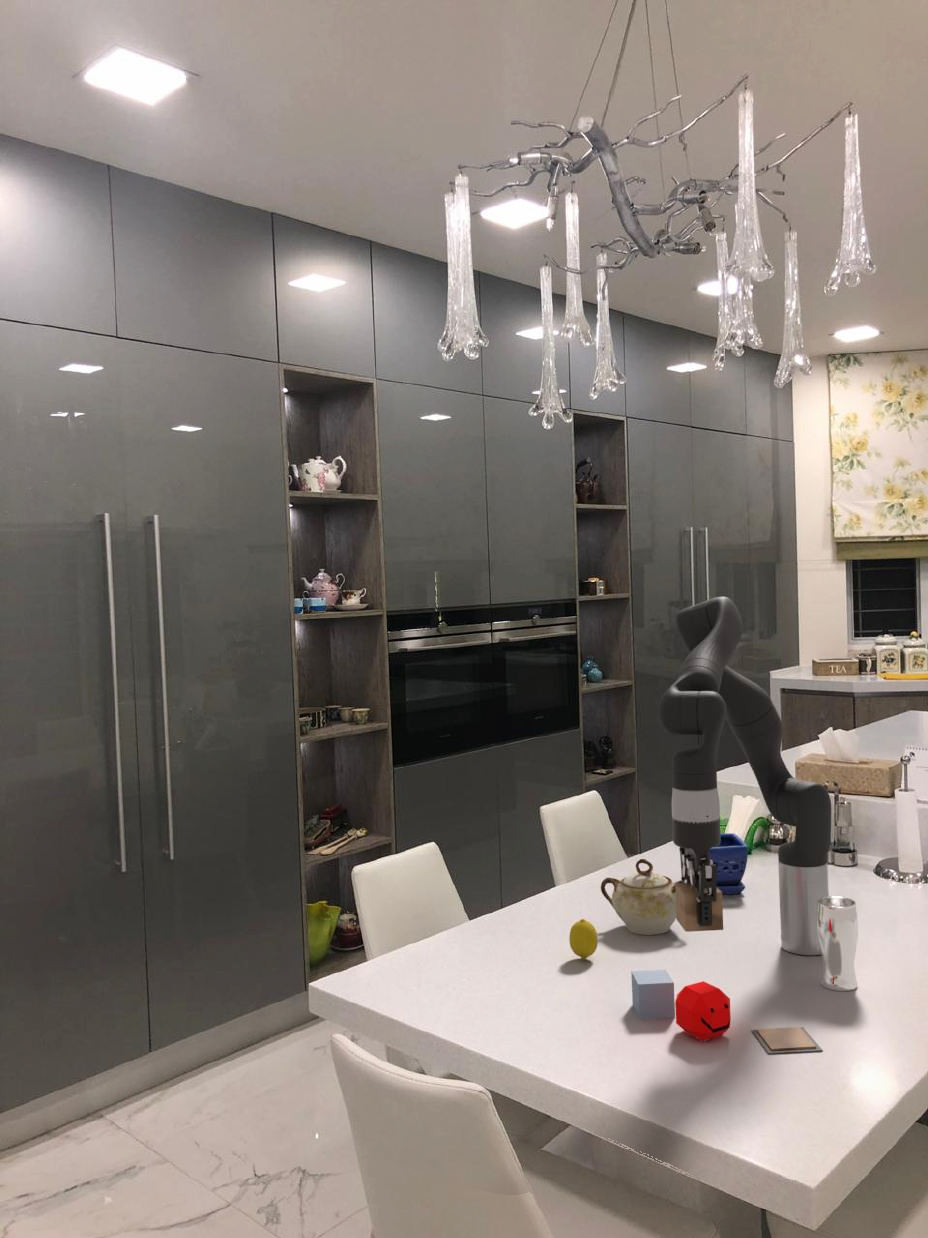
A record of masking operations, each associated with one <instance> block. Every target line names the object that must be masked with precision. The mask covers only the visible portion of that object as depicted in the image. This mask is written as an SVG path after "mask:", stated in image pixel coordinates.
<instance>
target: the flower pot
mask: <svg viewBox="0 0 928 1238" xmlns="http://www.w3.org/2000/svg"><path fill="white" fill-rule="evenodd" d="M720 834H721V843H720V844H719V845H718V846H717V847H712V848H711V849H709V856H710V858H712V861H713V865H716V867H717V875H716V886H717V888H718V889H719V890H720V891H721V892H722V895H736V894H741V893H742V892H743V891H744V890H745V888H746V885H745V884H744V883H743V881H742V879H743V877H744V875H745V872H746V869H747V863H748V855H749V847H748V845H747V844H746V843H745V841H744V840H743V839H741V837H740V836H739V835H737V834H736V833H731V832H729V833H721V832H720Z"/></svg>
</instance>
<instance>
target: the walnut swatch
mask: <svg viewBox="0 0 928 1238" xmlns="http://www.w3.org/2000/svg"><path fill="white" fill-rule="evenodd" d="M750 1031H751V1032H752V1034H753V1035H754V1036H755V1038H756V1039H757V1040H758V1042H759V1043H760V1045H761V1046H762V1048H763V1049H764V1050H765V1051H766V1053H767V1054H768V1055H779V1054H781V1055H782V1054H797V1053H798V1054H799V1053H814V1052H815V1053H817V1052H818V1053H819V1052H823V1051H824V1050H823V1049H822V1048H821V1046H820V1045H819V1043H817V1041H816V1040H814V1038H813V1037H812V1035H810V1033H809V1032H808V1031H807V1030H806V1028H804V1026H798V1027H797V1026H796V1027H781V1028H779V1027H778V1028H760V1029H751V1030H750Z"/></svg>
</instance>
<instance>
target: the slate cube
mask: <svg viewBox="0 0 928 1238" xmlns="http://www.w3.org/2000/svg"><path fill="white" fill-rule="evenodd" d="M630 973H631V991H632V992H631V995H632V1007H633V1009H634V1010H635V1013H636V1015H637V1017H638V1019H639V1020H652V1019H653V1020H654V1019H672V1018H675V1019H676V1006H675V983H674V980H673V979H672V977H671V976H670V974H669V973H668V971H667V969H651V970H650V969H649V970H648V969H647V970H632V971H631V972H630Z"/></svg>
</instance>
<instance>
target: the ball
mask: <svg viewBox="0 0 928 1238" xmlns="http://www.w3.org/2000/svg"><path fill="white" fill-rule="evenodd" d="M674 1002H675V1023H676V1024H677V1025H678V1027H680V1028H681V1029H682V1030H683V1031H684V1032H685V1033H686V1034H689V1036H692V1037H694V1038H695V1039H697V1040H698V1041H701V1042H702V1043H703V1042H707V1041H710V1040H711V1039H717V1038H719V1037H722V1036H723V1035H724V1034H725V1033H726V1032H727V1031H729V1029H730V1027H731V1022H732V1021H731V999H730V997H729V996H727V995H726V993H725V992H723V990H721V989H720V988H719V987H717V986H715V985H712V984H710V983H708V982H706V981H704V980H703V981H699V982H695V983H692V984H687V985H685V986H684V987H683V988H682V989H681V990H680V991H679V992H678V993H677V994H676V998H675V1000H674Z"/></svg>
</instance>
